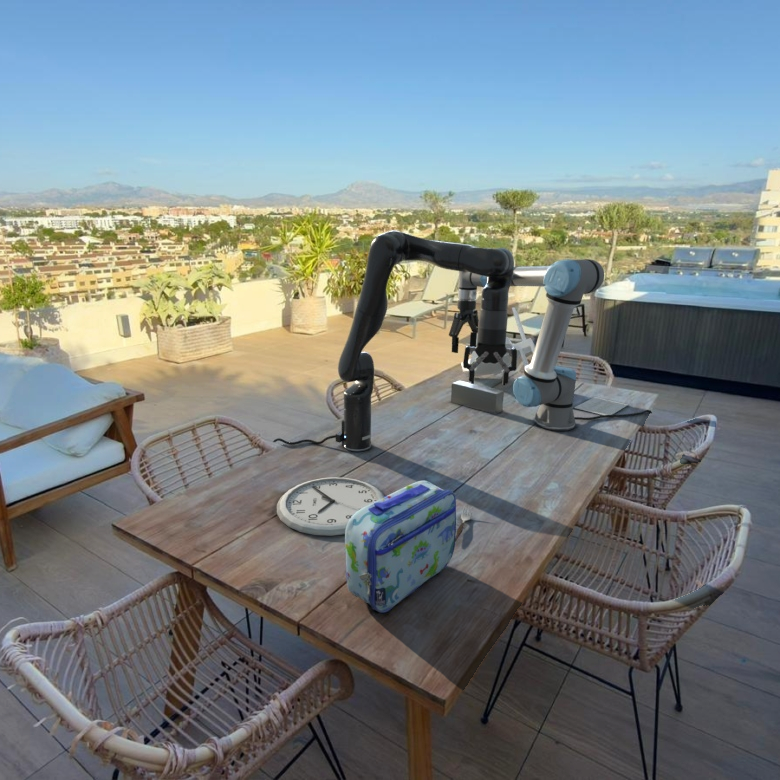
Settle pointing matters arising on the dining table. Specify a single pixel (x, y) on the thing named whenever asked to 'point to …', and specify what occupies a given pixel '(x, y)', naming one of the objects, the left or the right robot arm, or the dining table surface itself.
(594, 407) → the invitation card
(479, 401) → the box
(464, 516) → the fork
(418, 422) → the dining table surface
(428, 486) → the lunch box
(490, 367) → the white plastic object
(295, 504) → the wall clock
